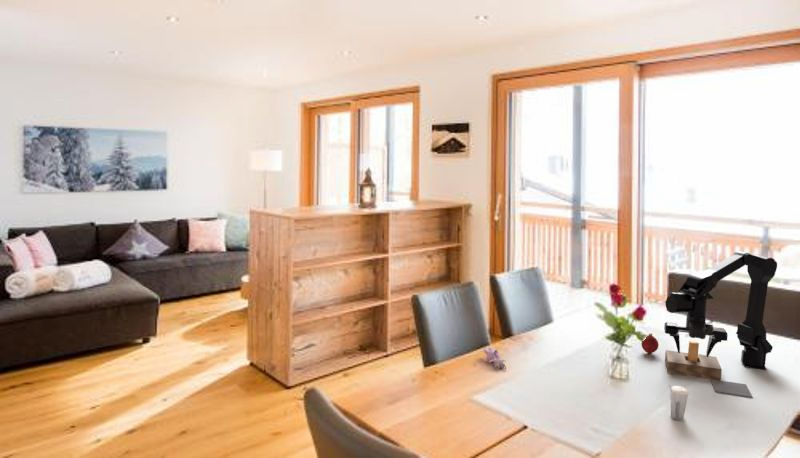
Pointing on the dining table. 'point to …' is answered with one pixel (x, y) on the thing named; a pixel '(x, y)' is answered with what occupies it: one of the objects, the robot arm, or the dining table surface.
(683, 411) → the milkshake
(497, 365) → the rabbit figure
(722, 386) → the mat
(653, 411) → the dining table surface
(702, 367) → the hole block
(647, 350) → the onion
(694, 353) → the peg
